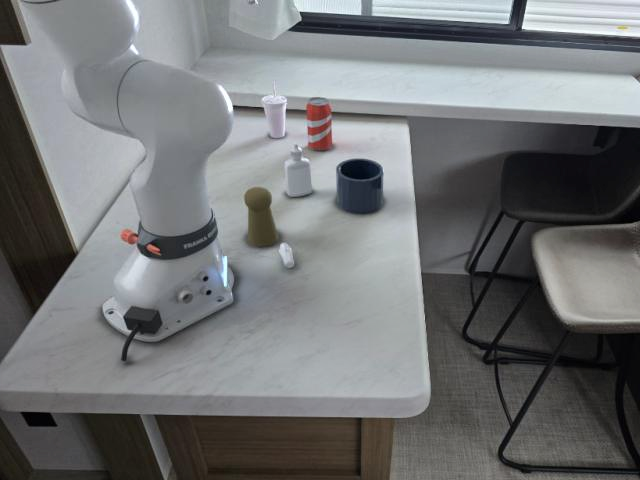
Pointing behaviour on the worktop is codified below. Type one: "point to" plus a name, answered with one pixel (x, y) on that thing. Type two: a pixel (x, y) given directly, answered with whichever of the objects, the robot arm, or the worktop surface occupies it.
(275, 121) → the smoothie
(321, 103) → the beverage can
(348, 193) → the dark blue round pot
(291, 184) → the eye dropper bottle
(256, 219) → the olive pawn
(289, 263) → the small white plastic part
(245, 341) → the worktop surface
